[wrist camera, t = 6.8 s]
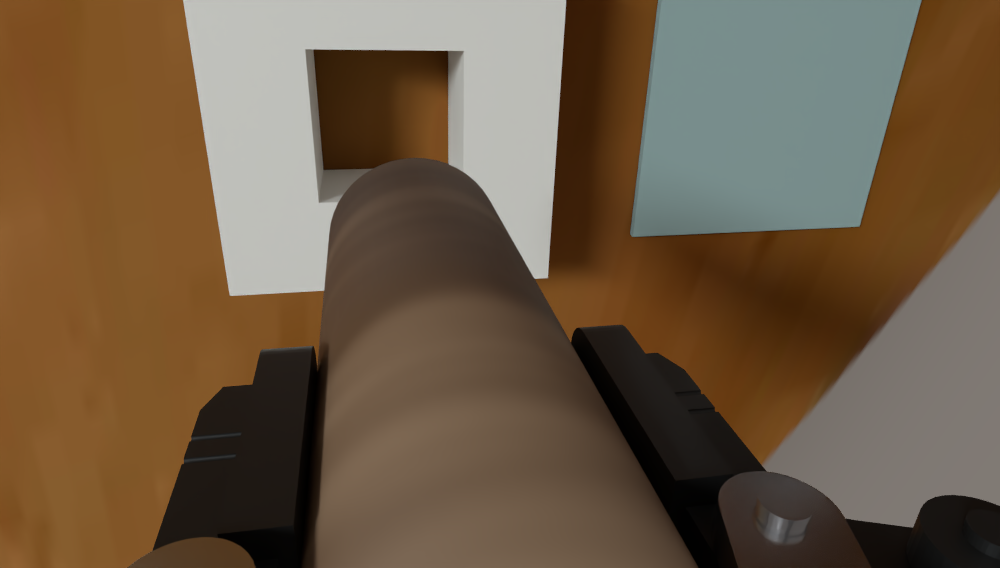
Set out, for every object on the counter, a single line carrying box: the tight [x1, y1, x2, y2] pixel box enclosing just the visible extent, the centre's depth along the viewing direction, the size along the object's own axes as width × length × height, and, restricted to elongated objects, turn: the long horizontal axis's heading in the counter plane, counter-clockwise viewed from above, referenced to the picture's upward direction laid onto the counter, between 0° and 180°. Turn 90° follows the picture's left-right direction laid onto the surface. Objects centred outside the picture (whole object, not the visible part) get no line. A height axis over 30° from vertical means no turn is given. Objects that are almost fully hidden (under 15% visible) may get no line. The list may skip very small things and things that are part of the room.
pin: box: [301, 158, 699, 568], centre depth 9 cm, size 5×5×15 cm
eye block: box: [183, 0, 566, 296], centre depth 29 cm, size 14×14×5 cm
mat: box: [630, 0, 921, 237], centre depth 35 cm, size 14×14×1 cm
